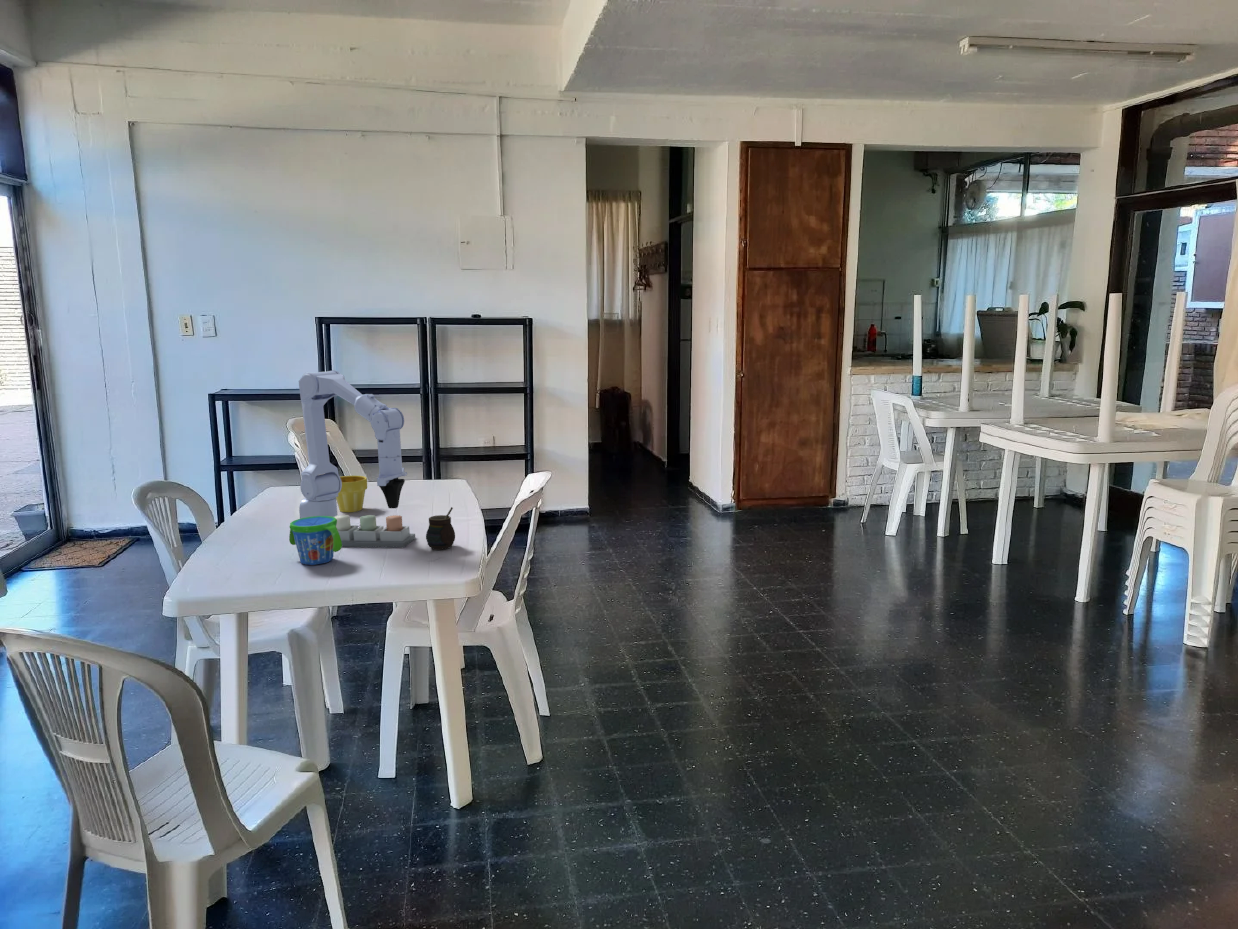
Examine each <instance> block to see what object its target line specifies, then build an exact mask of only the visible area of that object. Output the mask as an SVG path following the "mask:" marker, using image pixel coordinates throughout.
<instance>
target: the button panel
mask: <svg viewBox="0 0 1238 929" xmlns="http://www.w3.org/2000/svg"><path fill="white" fill-rule="evenodd" d="M376 527H377V529H376V530H375V531H361V528H360V526H358V525H351V529H349V530H348V531H338V532H339V535H340V538H341V542H342V548H400V549H401V548H403V549H404V548H406V546H408V545H409V544H410V543H411V542H413V541H414V540H415V539H416V533H410V530H411V529H410V525H402V527H403V529H402V530H401V531H387V526H386V527H384V525H376Z"/></svg>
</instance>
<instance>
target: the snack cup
mask: <svg viewBox="0 0 1238 929" xmlns="http://www.w3.org/2000/svg"><path fill="white" fill-rule="evenodd" d="M336 525H337V519H336V518H334V517H331V516H313V517H306V518H301V519H300V518H297V519H296V520H293V521H291V522H290V523H289V529H290V530H289V536H288V537H289V543H290V545H292V546H296V550H297V553H298V557H299V561H300V563H301V564H304V565H309V566H310V565H311V566H315V565H322V564H326V563H329V562H331V561H332V560H333V559H334V553H338V552H339V551H341V549H342V548H343V547H342V542H341V538H340V535H339V532H338V529H337V528H336Z"/></svg>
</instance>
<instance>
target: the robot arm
mask: <svg viewBox="0 0 1238 929" xmlns="http://www.w3.org/2000/svg"><path fill="white" fill-rule="evenodd" d="M298 388H299V395H300V396H299V397H300V402H301V408H302V416H303V418H302V419H303V424H304V436H305V441H306V442H305V443H306V451H307V457H308V458H307V459H308V465H307V466H306V467H305V468H304V470H302V471H301V473H300V475H301V482H300V487H299V488H300V492H301V494H302V496H303V497H304V498H303V499H301V501H300V503H299V506H298V508H299V509H298V511H299V519H301V518H306V517H313V516H331V517H335V516H339V515H338V503H337V500H336V497H338V493H339V492H340V491H341V488H342V481H341V479H340V477H341V475H339V471H338V470H339V469H338V467H337V466H335V465H334V464H333V463H331V462H330V454H329V453H330V452H329V444H328V443H329V442H328V437H327V436H328V435H327V429H326V428H327V427H326V419H325V412H324V411H325V410H324V405H325V404H326V403H327V402H328V401H329V400H330V399H332V398H334V397H335V396H338V397H340V398H341V399H343V400H345V401H346V402H348V403H349V404H351V405H352V406H354V411H355V413H357V414H358V415H360V416H361V417H362V418H363V419H365V420H366V421H368V422H369V423H370V425H371V426H370V427H371V428H372V431H373V432H374V437H375V440H376V441H377V442H376V443H377V453H378V455H377V456H378V458H377V459H378V470H379V473H378V477H377V478H376V484H377V485H376V486H377V487H379V488H380V490H381V492H382V493H383V496H384V498H385V501H386V505H387V507H388V509H398V507H399V504H400V497H401V493H402V490H403V487H404V484H405V482H406V481H405V480H406V479H404V478H400V477H406V476H407V475H408V472H407V471H406V472H405V467H403V459H402V446H401V445H402V444H401V442H402V441H401V429H403V427H404V425H405V418H404V414H403V412H402V411H401V410H400V409H399V408H398V407H388V406H387V404H385V403H383V402H381V400H378V399H377V398H376V396H375V395H374V394H373V393H365V394H362V393H361V392H360V391H359V390H357V389H356V388H355V387H354V386H353V385H352V384H350V383H349V382H348V381H347V380H346V379H345V376H344V374H342V373H341V372H339V371H338V370H335V369H334V370H333V369H332V370H328V371H316V372H308V371H307V372H305V373H303V375H302V376H301V377H300V378H299V380H298Z"/></svg>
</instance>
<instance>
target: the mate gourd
mask: <svg viewBox="0 0 1238 929" xmlns="http://www.w3.org/2000/svg"><path fill="white" fill-rule="evenodd" d="M453 509H454V507H452V506H451V507H450V509H449V510H448V512H447V513H446V514H445V515H443V514H442V515H441V514H439V515H432V516H430V517H429V518H428V528H427V531H426V534H425V539H426V543H427V545H428V547H429V548H431V549H432V550H435V551H443V550H448V549H450V548H451V547H452V546H454V542H455V540H456V532H455V529H454V527H453V525H452V517H451V516H450V514H451V512H452V510H453Z"/></svg>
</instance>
